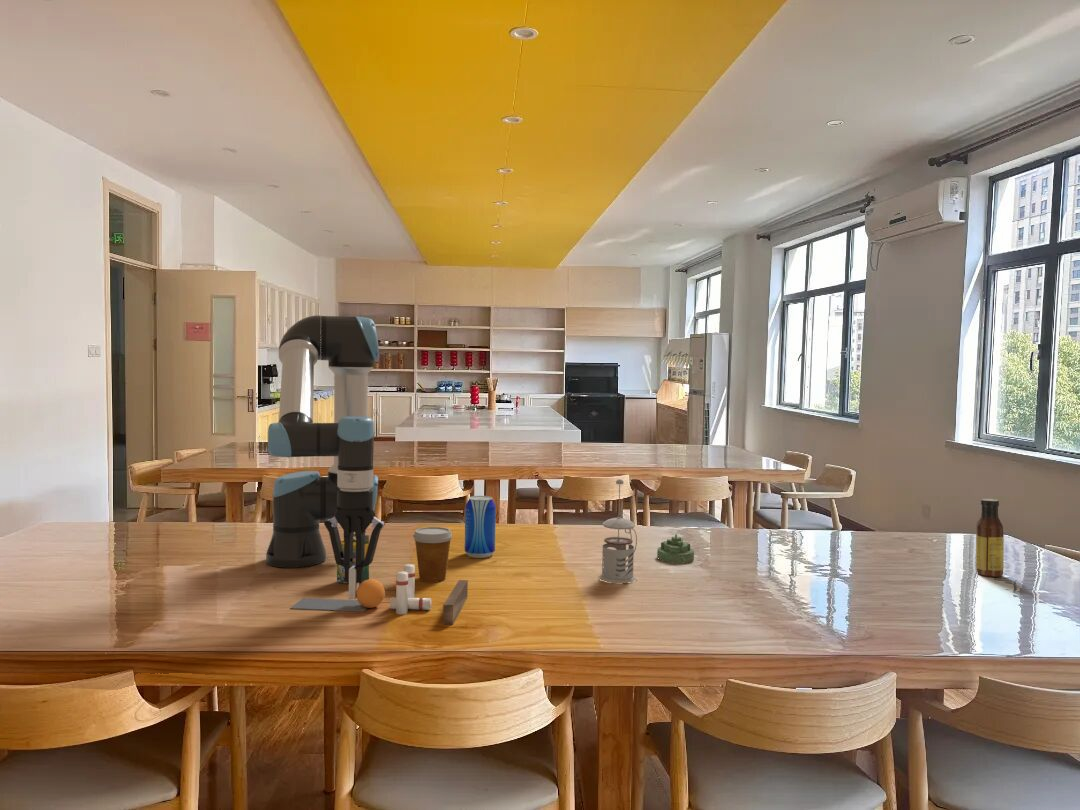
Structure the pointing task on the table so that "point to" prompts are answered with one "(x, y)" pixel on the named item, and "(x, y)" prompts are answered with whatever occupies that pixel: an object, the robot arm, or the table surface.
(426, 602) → the front pin
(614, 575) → the french press
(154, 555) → the table surface
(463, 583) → the back wall
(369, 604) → the ball
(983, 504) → the sauce bottle
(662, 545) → the decorative artifact
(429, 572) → the disposable coffee cup
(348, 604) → the plate
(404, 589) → the pin
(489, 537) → the beer can
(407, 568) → the pin
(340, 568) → the crayon box
